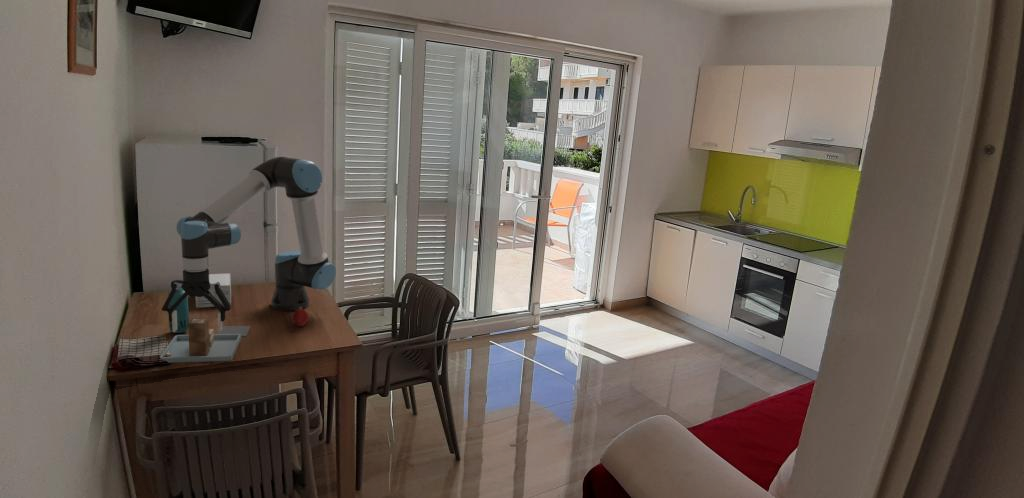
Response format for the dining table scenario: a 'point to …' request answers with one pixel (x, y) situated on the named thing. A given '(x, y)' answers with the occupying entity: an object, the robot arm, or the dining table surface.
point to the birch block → (211, 337)
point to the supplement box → (225, 287)
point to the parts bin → (218, 352)
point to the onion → (300, 317)
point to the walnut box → (198, 337)
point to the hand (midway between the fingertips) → (197, 330)
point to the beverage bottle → (180, 310)
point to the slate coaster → (235, 330)
